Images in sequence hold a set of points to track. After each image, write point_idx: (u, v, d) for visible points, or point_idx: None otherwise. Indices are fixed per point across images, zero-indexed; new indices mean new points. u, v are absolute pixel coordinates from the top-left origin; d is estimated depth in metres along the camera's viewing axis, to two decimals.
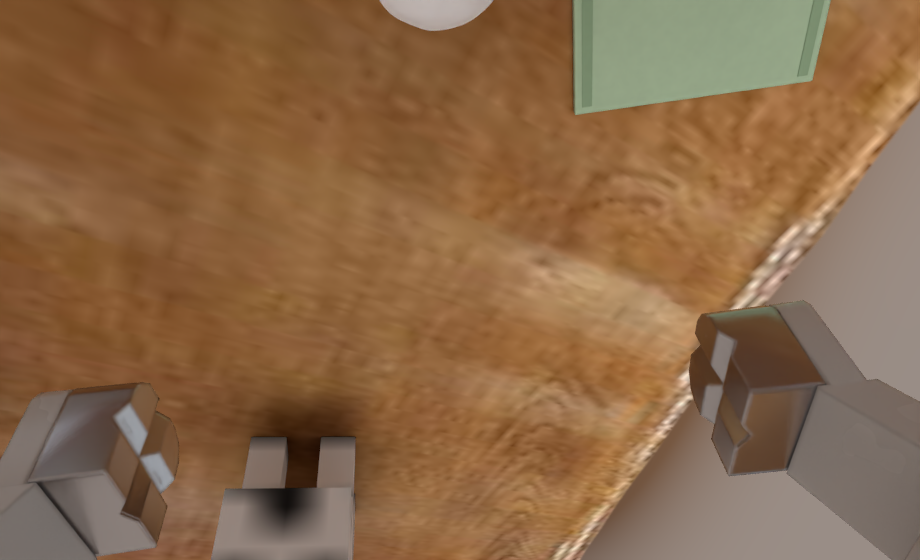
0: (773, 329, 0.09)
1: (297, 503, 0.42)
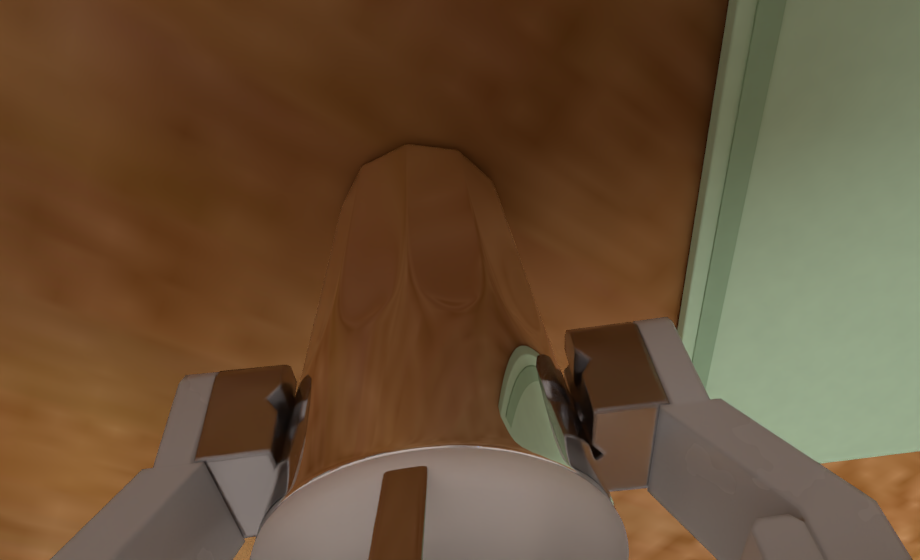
0: (629, 346, 0.09)
1: None
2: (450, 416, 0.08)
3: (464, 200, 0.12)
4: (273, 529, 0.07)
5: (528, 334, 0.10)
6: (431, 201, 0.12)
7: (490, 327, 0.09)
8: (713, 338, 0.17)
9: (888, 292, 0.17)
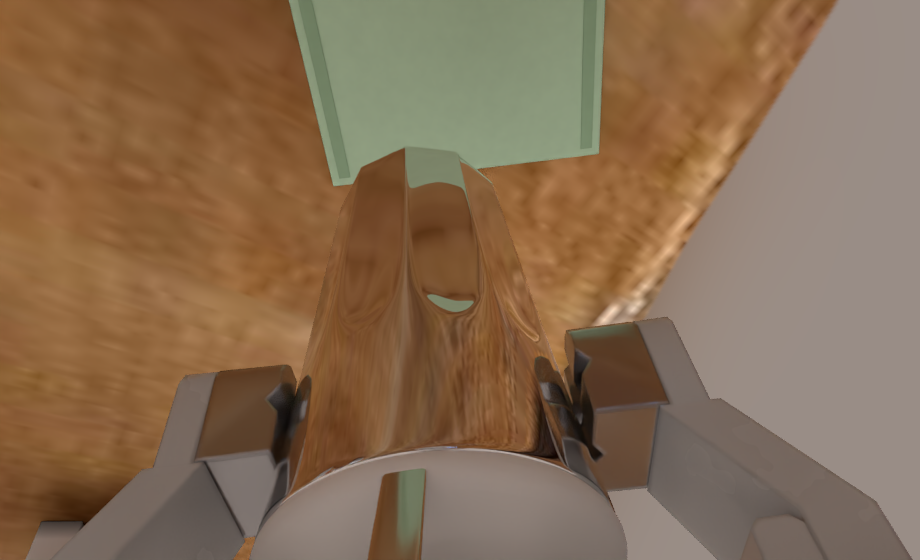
0: (629, 347, 0.09)
1: None
2: (449, 419, 0.08)
3: (463, 202, 0.12)
4: (272, 532, 0.08)
5: (527, 336, 0.10)
6: (430, 203, 0.12)
7: (489, 329, 0.09)
8: (321, 52, 0.27)
9: (424, 18, 0.27)
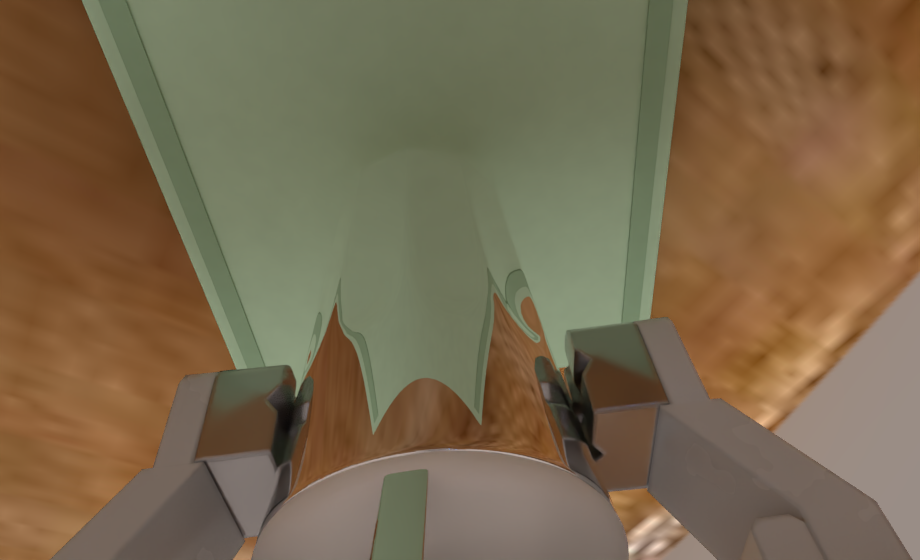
0: (629, 347, 0.09)
1: None
2: (450, 419, 0.08)
3: (464, 202, 0.12)
4: (274, 532, 0.08)
5: (528, 336, 0.10)
6: (431, 203, 0.12)
7: (490, 330, 0.09)
8: (214, 241, 0.17)
9: None
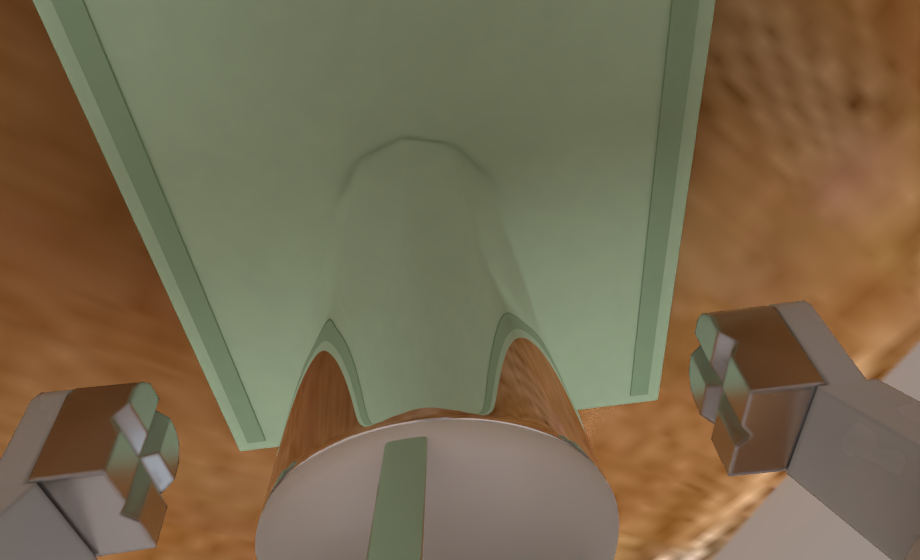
0: (773, 329, 0.09)
1: None
2: (448, 391, 0.08)
3: (458, 191, 0.12)
4: (279, 500, 0.08)
5: (521, 317, 0.10)
6: (426, 192, 0.12)
7: (485, 310, 0.10)
8: (198, 285, 0.16)
9: None
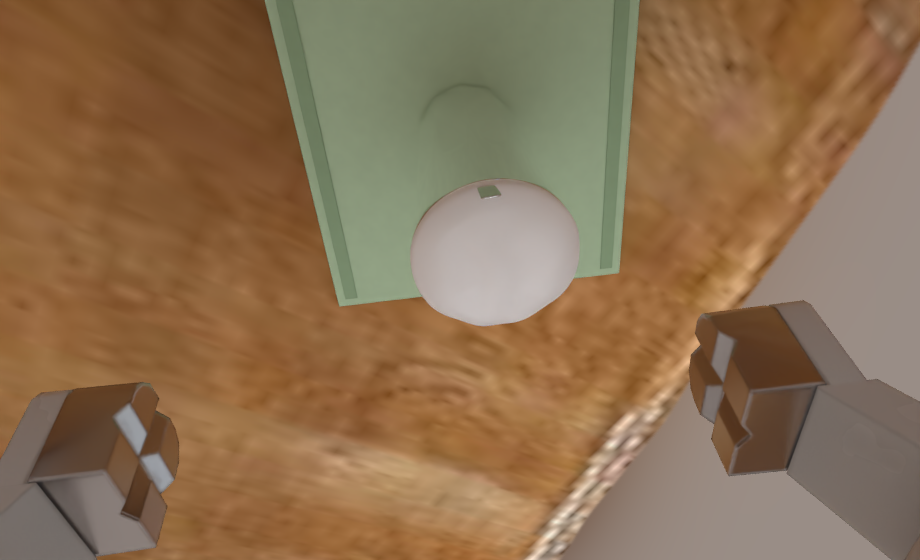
0: (773, 329, 0.09)
1: None
2: (501, 171, 0.18)
3: (495, 108, 0.22)
4: (427, 218, 0.18)
5: (532, 160, 0.20)
6: (478, 108, 0.22)
7: (515, 151, 0.19)
8: (329, 179, 0.26)
9: None
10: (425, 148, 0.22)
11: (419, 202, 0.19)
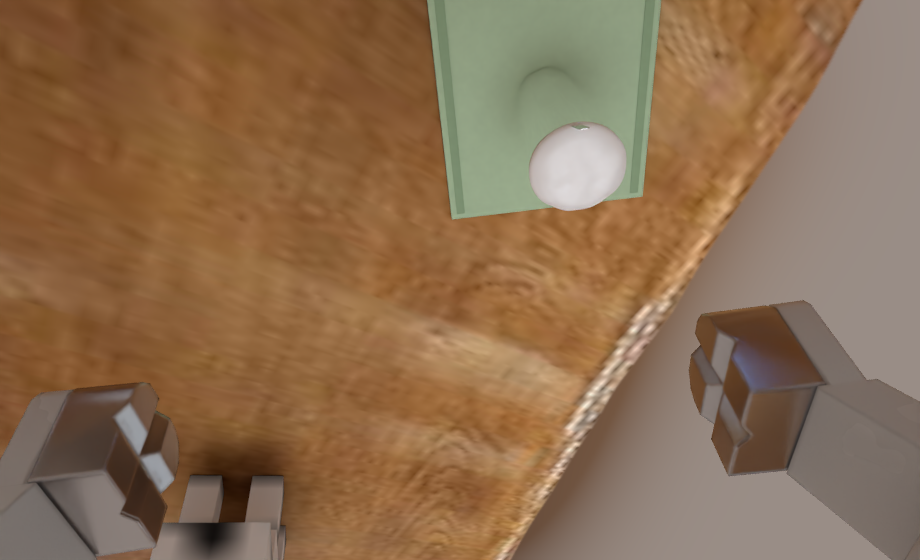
0: (773, 329, 0.09)
1: (222, 536, 0.49)
2: (583, 118, 0.32)
3: (570, 83, 0.36)
4: (542, 144, 0.31)
5: (596, 113, 0.34)
6: (560, 82, 0.36)
7: (587, 107, 0.33)
8: (455, 130, 0.40)
9: None
10: (527, 107, 0.36)
11: (532, 137, 0.33)
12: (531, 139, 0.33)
